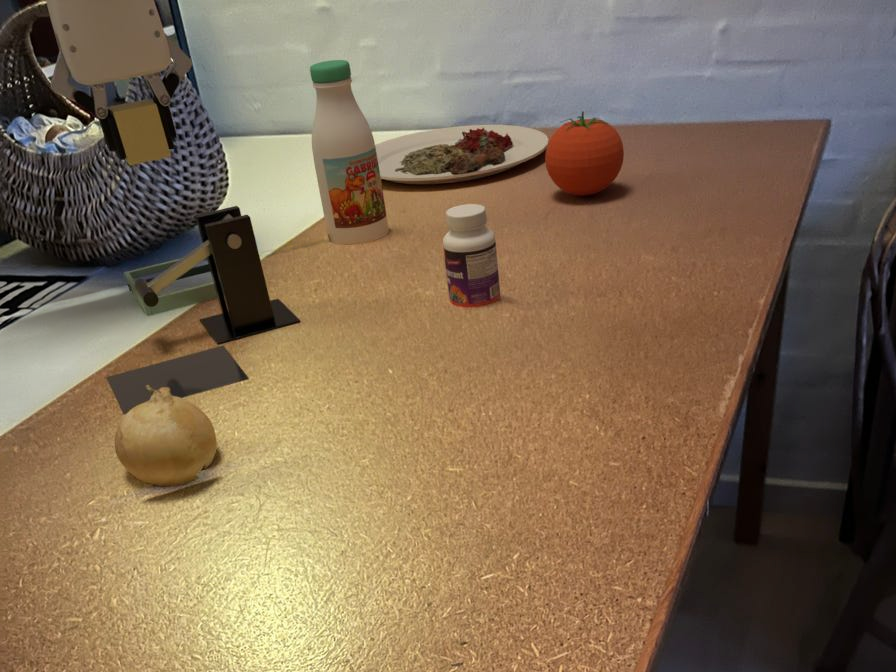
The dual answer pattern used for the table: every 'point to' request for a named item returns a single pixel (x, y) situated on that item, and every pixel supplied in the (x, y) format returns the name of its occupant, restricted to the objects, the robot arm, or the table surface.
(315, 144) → the milk bottle
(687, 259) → the table surface
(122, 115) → the yellow rectangular block
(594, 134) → the tomato
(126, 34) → the robot arm
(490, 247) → the pill bottle
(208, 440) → the onion
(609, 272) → the table surface
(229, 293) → the black lever stand
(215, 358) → the board
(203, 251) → the lever
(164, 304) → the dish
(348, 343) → the table surface
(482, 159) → the plated food
